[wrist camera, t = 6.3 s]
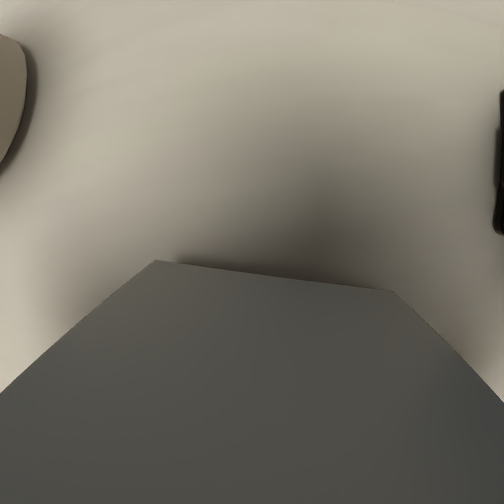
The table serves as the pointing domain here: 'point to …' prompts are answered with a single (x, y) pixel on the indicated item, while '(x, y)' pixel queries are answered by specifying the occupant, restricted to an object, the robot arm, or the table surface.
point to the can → (11, 90)
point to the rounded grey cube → (250, 401)
